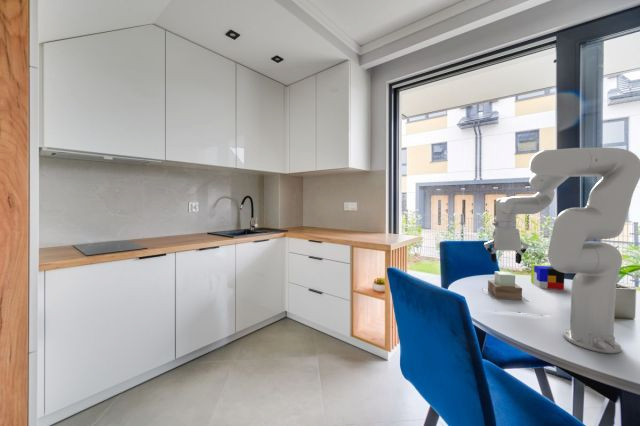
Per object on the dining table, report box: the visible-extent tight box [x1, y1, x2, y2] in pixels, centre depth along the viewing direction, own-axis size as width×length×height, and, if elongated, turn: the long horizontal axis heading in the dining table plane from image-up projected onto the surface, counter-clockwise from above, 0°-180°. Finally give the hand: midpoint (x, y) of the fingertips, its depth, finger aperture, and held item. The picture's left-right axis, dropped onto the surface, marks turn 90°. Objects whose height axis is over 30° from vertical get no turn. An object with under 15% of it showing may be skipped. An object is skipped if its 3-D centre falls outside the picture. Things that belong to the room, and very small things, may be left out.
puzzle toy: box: [530, 263, 565, 291], centre depth 138 cm, size 10×10×10 cm
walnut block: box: [487, 279, 523, 300], centre depth 122 cm, size 10×10×5 cm
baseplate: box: [482, 288, 530, 303], centre depth 123 cm, size 14×14×1 cm
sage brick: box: [494, 270, 516, 286], centre depth 122 cm, size 6×6×5 cm
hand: (505, 262), depth 121 cm, fingers open, 9 cm apart
